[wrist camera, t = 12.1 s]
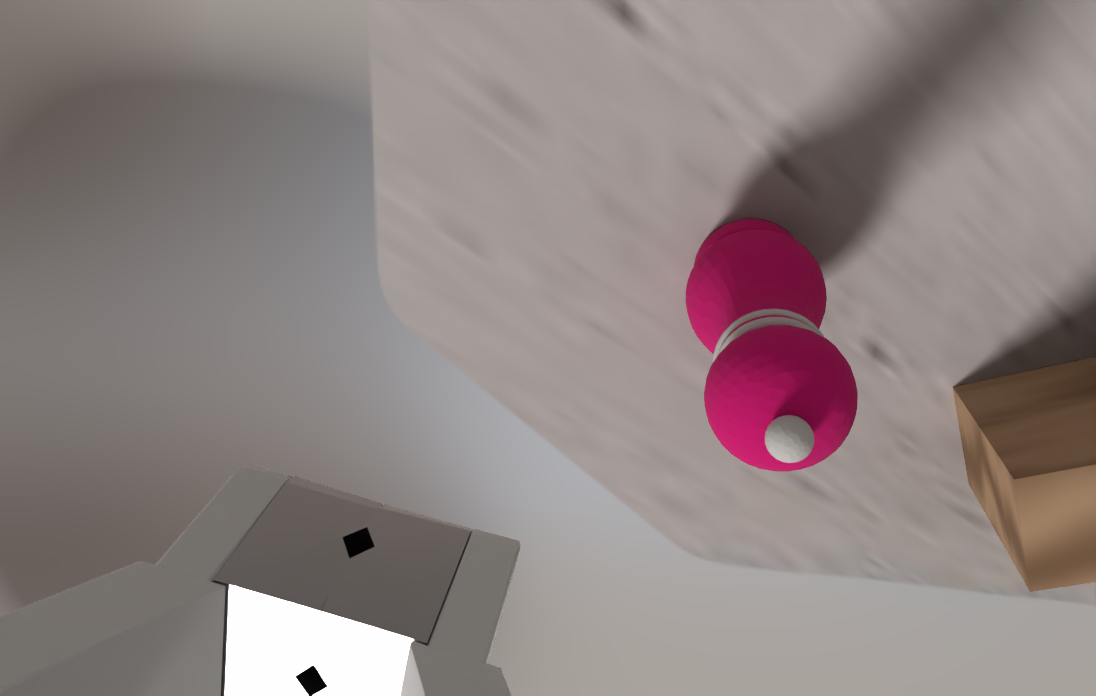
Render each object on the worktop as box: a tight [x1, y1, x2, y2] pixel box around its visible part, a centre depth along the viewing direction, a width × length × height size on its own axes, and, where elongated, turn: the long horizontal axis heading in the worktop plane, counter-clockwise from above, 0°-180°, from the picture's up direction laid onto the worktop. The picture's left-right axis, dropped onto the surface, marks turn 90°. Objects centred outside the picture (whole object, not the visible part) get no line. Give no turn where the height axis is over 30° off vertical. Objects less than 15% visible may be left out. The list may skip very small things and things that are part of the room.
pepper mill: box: [686, 219, 857, 471], centre depth 39 cm, size 7×7×20 cm
